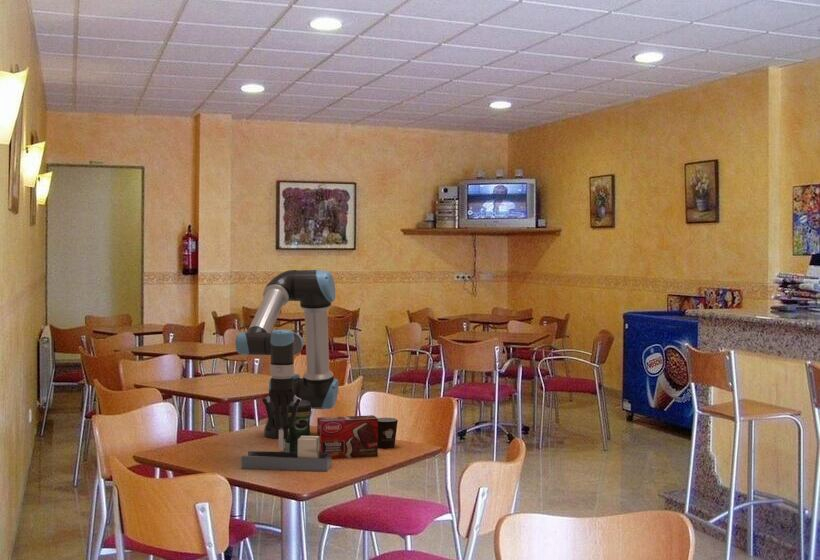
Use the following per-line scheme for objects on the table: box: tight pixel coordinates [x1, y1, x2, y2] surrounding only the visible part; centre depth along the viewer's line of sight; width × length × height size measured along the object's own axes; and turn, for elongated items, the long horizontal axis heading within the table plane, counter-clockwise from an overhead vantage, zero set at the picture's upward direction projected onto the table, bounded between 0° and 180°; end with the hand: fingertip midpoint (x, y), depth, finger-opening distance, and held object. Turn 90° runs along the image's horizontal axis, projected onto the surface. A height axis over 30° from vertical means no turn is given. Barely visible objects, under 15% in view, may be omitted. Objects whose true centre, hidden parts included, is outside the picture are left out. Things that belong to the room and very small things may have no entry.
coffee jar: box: [283, 400, 313, 452], centre depth 320 cm, size 10×8×19 cm
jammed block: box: [298, 435, 319, 458], centre depth 299 cm, size 6×6×8 cm
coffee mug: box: [377, 417, 399, 450], centre depth 333 cm, size 12×9×10 cm
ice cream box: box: [316, 414, 379, 460], centre depth 317 cm, size 20×6×13 cm, turn 107°
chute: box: [241, 450, 333, 472], centre depth 299 cm, size 9×28×4 cm, turn 85°
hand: (281, 448), depth 300 cm, fingers closed
